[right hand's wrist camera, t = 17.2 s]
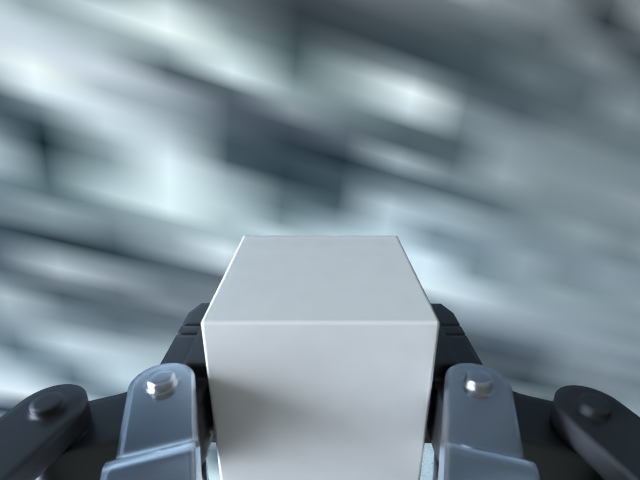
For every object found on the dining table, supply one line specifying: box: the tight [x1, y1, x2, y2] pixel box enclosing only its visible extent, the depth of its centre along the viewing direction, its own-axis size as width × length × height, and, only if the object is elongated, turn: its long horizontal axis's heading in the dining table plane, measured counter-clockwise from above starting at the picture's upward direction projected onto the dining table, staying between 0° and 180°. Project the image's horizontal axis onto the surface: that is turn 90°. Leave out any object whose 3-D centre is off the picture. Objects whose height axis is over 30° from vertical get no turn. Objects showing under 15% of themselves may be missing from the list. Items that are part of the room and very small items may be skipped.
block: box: [201, 236, 440, 480], centre depth 11 cm, size 4×5×5 cm
